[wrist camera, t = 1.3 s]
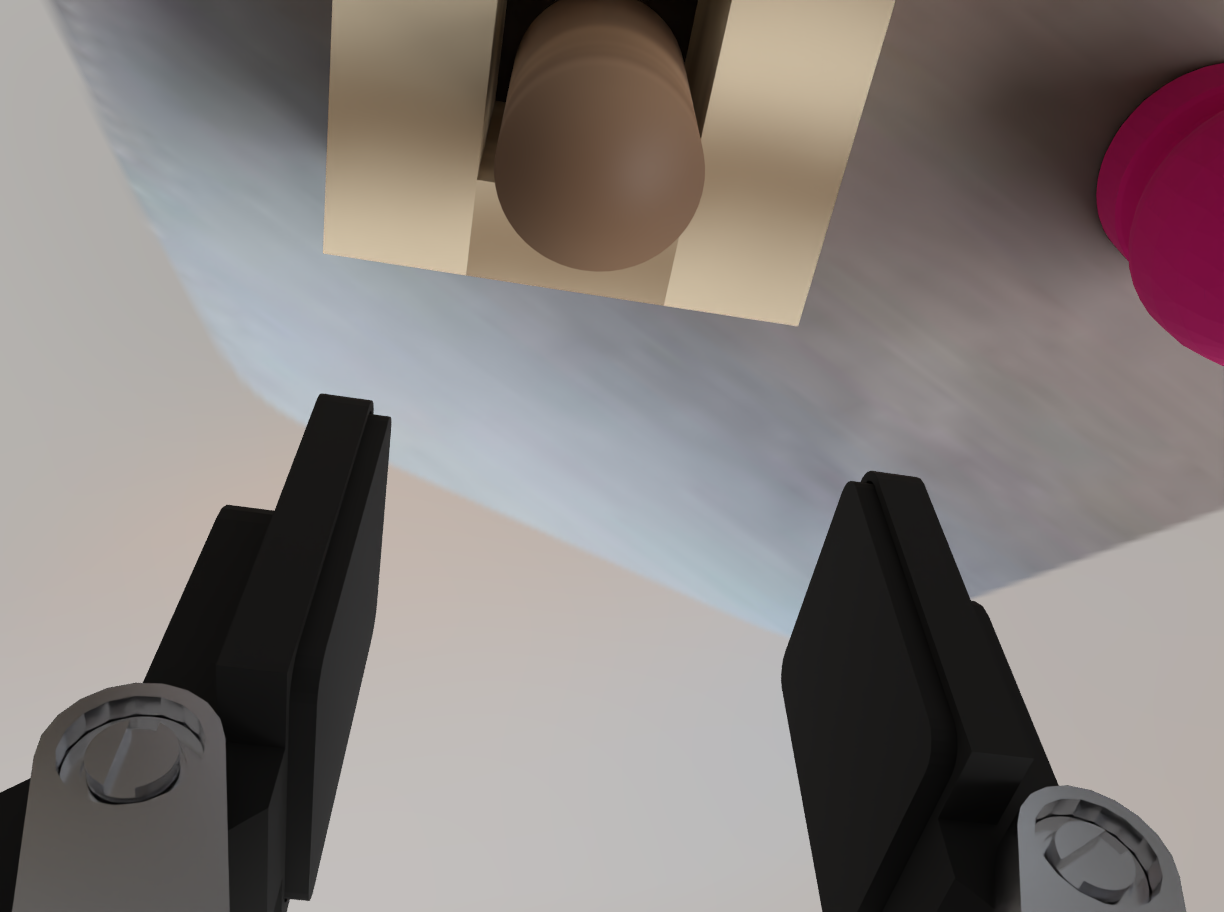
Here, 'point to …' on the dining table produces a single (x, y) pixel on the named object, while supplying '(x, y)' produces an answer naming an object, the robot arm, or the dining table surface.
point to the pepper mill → (1173, 206)
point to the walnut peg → (599, 137)
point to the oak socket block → (726, 117)
